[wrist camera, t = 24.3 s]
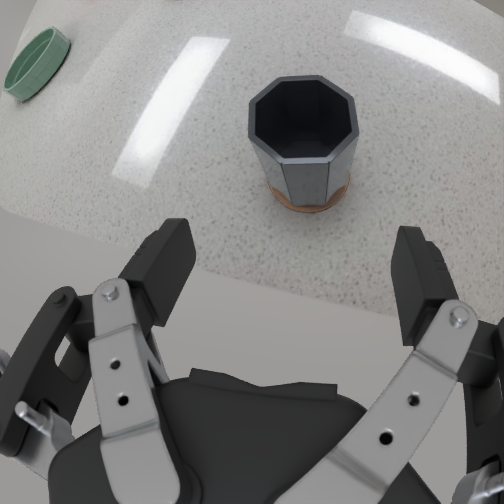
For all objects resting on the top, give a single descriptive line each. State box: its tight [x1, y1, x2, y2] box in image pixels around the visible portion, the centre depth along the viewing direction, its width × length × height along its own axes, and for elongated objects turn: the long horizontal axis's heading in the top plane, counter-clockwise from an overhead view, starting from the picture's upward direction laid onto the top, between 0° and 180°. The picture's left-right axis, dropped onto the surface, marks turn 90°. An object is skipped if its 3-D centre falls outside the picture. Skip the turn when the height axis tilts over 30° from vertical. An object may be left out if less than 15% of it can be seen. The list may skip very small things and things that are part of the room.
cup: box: [248, 75, 359, 207], centre depth 19 cm, size 6×6×8 cm
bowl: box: [2, 26, 70, 101], centre depth 34 cm, size 14×14×5 cm
